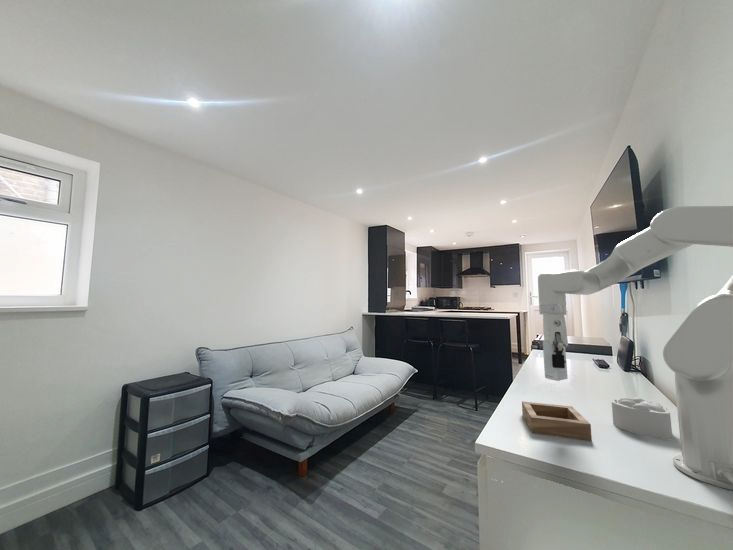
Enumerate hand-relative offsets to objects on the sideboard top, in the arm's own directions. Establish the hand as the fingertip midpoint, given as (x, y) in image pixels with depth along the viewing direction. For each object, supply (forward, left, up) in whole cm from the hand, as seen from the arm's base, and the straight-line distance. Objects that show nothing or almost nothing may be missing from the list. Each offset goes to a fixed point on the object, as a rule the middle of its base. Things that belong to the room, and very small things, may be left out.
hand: (555, 364), depth 93 cm
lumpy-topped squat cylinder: (+6, -23, -19) cm, 31 cm away
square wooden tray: (-1, +2, -19) cm, 19 cm away
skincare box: (0, 0, -5) cm, 5 cm away
